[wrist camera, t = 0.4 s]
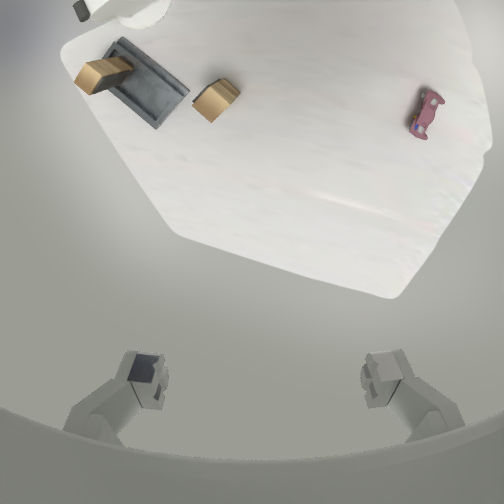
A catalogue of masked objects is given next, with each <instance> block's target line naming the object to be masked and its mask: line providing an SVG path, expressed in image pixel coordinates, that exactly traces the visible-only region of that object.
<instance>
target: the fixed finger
mask: <svg viewBox="0 0 504 504" xmlns="http://www.w3.org/2000/svg"><path fill="white" fill-rule="evenodd" d="M133 69H134V66H132V65H131V64H130V63H128V62H127V61H126V60H125V59H123V58H122V57H121V56H118V57H112V58H106V59H101V60H96V61H91V62H86V63H85V64H84V66H83V67H82V69H81V71H80V72H79V74H78V76H77V77H76V79H75V81H74V83H75V84H76V85H77V86H78V87H80V88H81V89H82V90H83V91H84V92H86V93H87V94H88V95H92V94H95V93H98V92H101V91H103V90H106V89H109V88H112V87H115V86H118V85H120V84H122V83H123V82H124V81H125V80H126V78H127V77H128V75H129V74H130V73H131V71H132V70H133Z"/></svg>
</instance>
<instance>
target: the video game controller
mask: <svg viewBox="0 0 504 504" xmlns="http://www.w3.org/2000/svg"><path fill="white" fill-rule="evenodd" d="M422 97H423V104H422V106H421V109H422V111H421V113H418V114H417V116H416V115H415V116H414V119H415V120H414V121H413V122H412V124H411V128H410V131H409V132H410V133H412V134H413V135H414V136H415V137H417V138H420V139H423V140H427V139H428V137H427V135H426V134H425V131H426V130H427V128H428V126H429V124H430V123H431V122H432V121H433V120H434V117H435V111H436V109H437V107H438V104H445V101H444V99H443V98H442V97H441V96H439V95H438V94H437V93H435V92H433V91H431V90H429V91H428V92H427V93H426V94H424V93H423V94H422Z"/></svg>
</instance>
